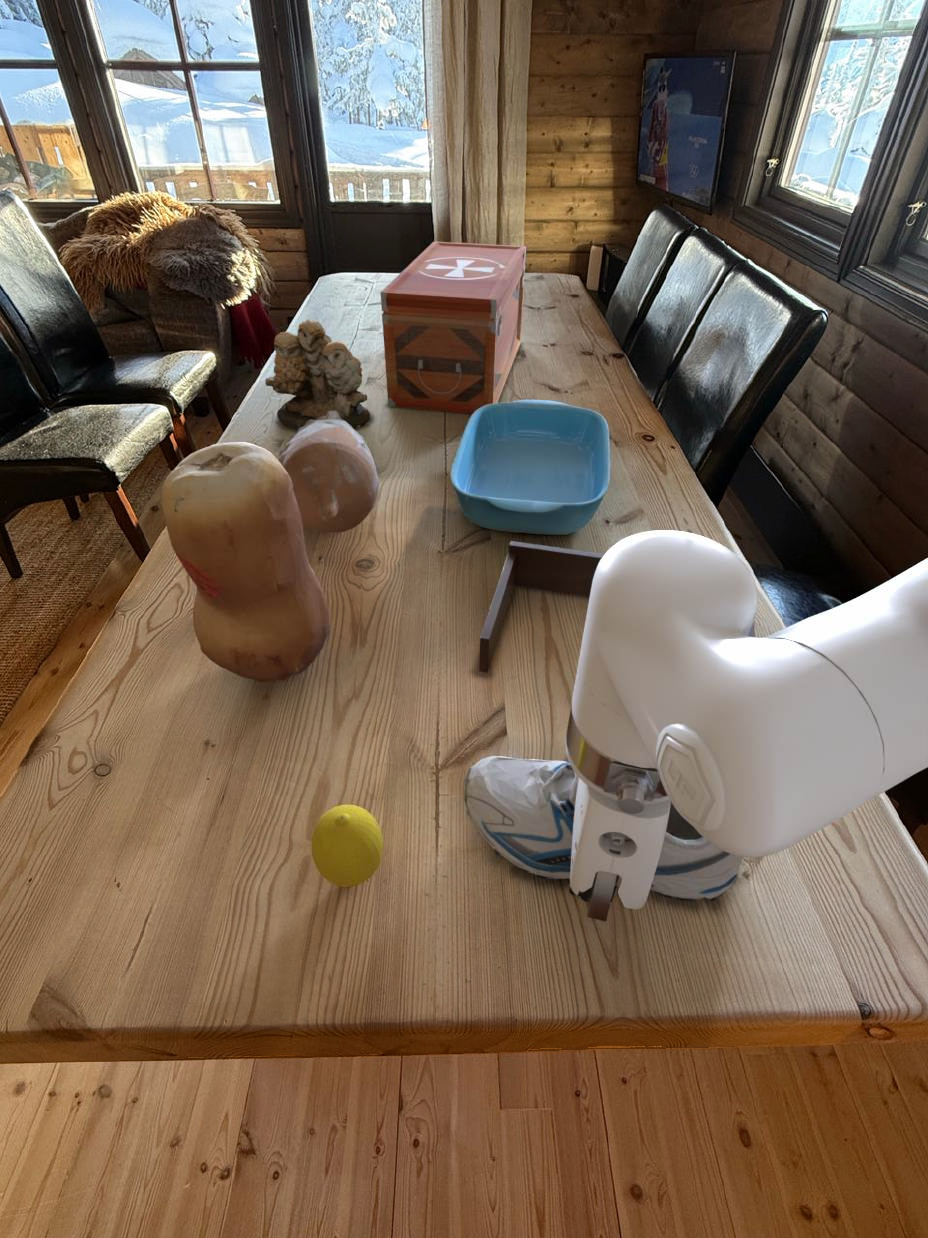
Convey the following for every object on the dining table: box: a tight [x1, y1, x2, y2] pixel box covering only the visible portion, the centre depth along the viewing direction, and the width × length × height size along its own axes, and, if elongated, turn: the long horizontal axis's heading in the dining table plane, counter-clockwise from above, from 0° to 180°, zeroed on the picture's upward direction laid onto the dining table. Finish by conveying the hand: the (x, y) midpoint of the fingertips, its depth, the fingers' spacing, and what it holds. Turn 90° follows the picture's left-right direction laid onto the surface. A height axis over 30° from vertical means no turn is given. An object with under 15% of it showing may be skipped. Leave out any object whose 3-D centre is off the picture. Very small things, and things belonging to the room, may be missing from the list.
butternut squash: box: [161, 441, 331, 683], centre depth 64 cm, size 14×13×25 cm
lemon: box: [311, 804, 384, 888], centre depth 52 cm, size 6×6×8 cm
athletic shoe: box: [463, 755, 743, 902], centre depth 53 cm, size 10×23×12 cm, turn 82°
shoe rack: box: [478, 540, 756, 674], centre depth 74 cm, size 17×28×6 cm, turn 76°
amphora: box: [277, 411, 380, 534], centre depth 93 cm, size 14×16×30 cm
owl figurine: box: [264, 318, 371, 431], centre depth 115 cm, size 18×12×17 cm, turn 87°
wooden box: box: [380, 241, 527, 415], centre depth 132 cm, size 20×41×20 cm, turn 169°
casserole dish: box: [450, 399, 611, 536], centre depth 100 cm, size 37×22×7 cm, turn 171°
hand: (590, 889), depth 50 cm, fingers closed
